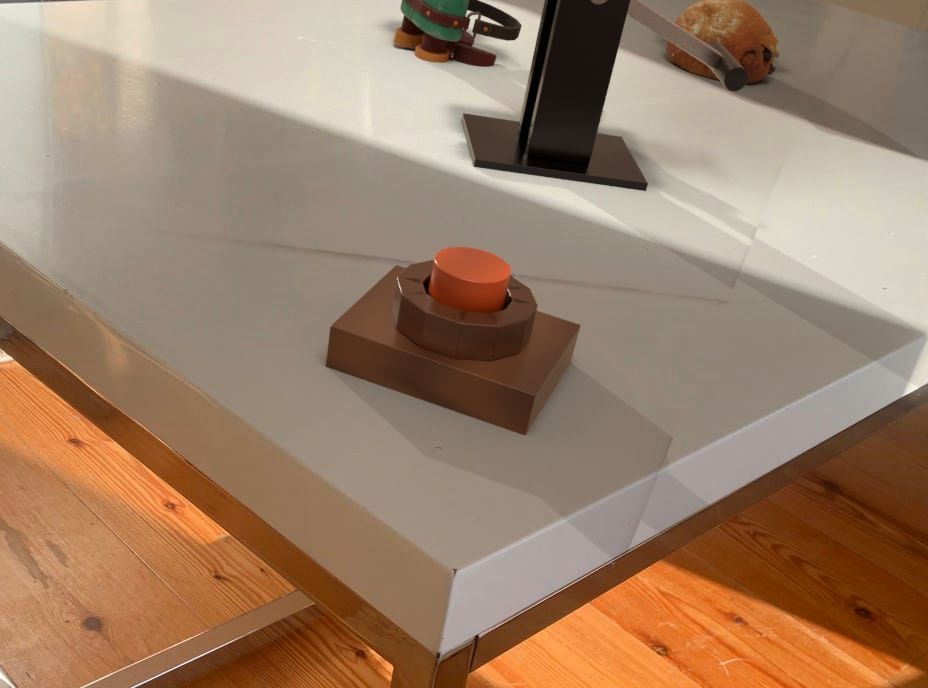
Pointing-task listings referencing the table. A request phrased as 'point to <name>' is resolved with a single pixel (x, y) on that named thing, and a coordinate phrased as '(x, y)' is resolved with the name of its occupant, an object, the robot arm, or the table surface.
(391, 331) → the button block
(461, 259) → the button
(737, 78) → the lever
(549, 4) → the bracket
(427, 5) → the binoculars
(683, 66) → the bread roll
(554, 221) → the table surface
